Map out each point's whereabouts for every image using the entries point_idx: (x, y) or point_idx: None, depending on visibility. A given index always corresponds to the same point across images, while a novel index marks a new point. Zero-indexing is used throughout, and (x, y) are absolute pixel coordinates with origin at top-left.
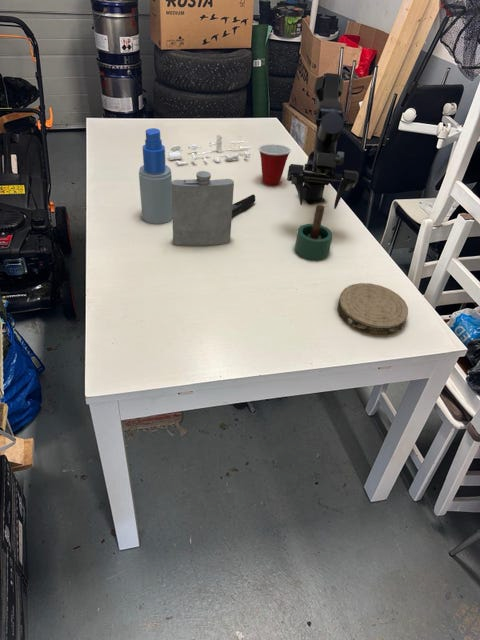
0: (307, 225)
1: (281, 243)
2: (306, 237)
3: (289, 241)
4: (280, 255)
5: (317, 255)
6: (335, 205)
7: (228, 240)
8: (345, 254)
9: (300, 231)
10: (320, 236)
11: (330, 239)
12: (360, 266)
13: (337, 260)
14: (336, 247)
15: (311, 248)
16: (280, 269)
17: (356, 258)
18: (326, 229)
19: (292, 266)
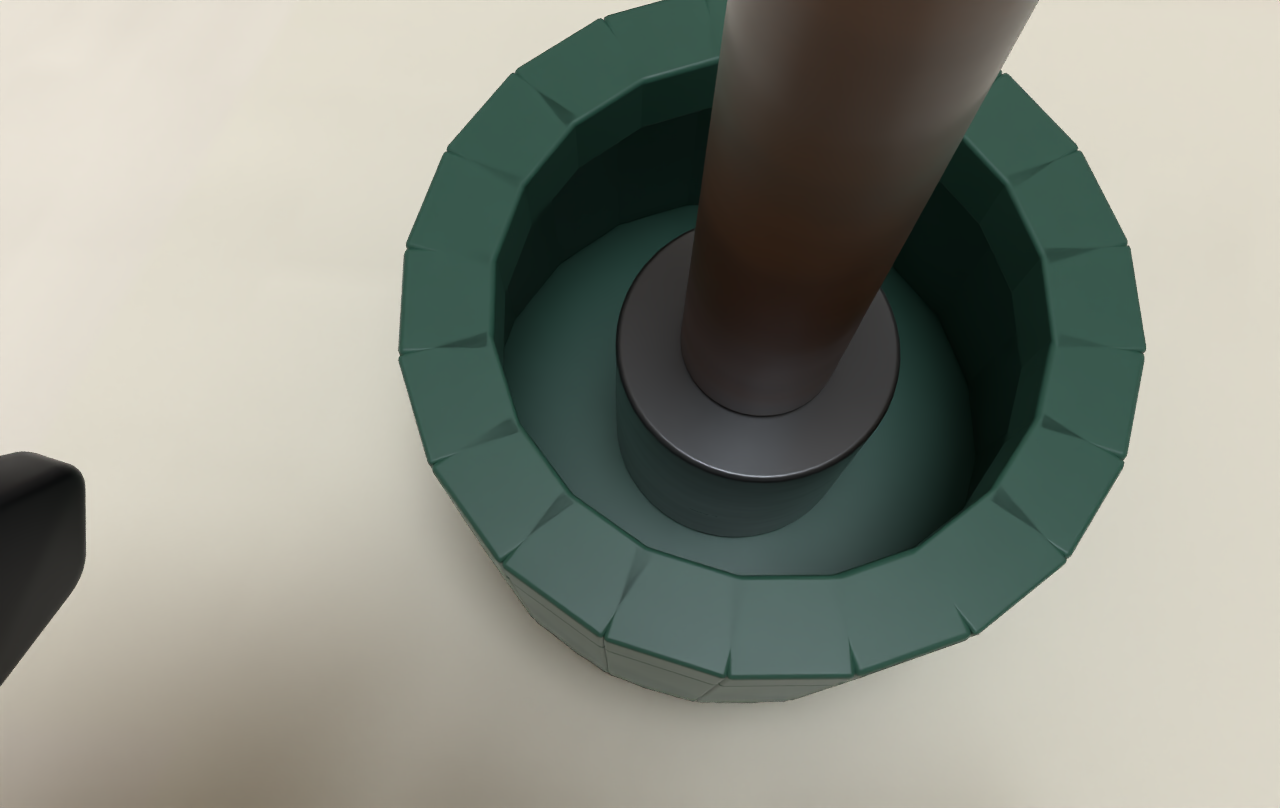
0: (876, 589)
1: (1180, 698)
2: (1008, 128)
3: (1031, 753)
4: (1232, 362)
5: None
6: (10, 482)
7: None
8: (222, 305)
9: (1090, 352)
10: (625, 353)
11: (530, 67)
12: (154, 26)
13: (414, 176)
14: (275, 503)
15: None
16: (1262, 60)
17: (107, 198)
18: (480, 389)
19: (1093, 105)
